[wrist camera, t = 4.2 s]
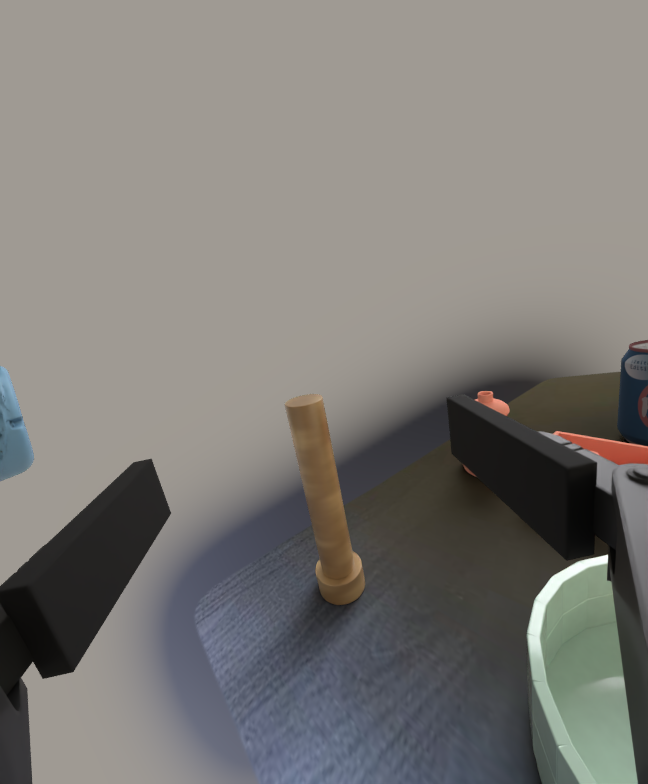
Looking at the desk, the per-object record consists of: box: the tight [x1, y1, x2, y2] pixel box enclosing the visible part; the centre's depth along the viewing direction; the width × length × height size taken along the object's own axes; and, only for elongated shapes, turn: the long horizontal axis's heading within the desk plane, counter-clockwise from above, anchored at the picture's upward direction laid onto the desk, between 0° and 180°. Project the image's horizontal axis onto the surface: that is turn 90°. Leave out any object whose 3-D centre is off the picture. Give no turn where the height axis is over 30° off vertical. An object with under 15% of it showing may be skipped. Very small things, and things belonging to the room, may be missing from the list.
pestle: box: [285, 394, 365, 605], centre depth 26 cm, size 4×4×17 cm
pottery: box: [463, 391, 648, 477], centre depth 35 cm, size 18×10×10 cm, turn 38°
